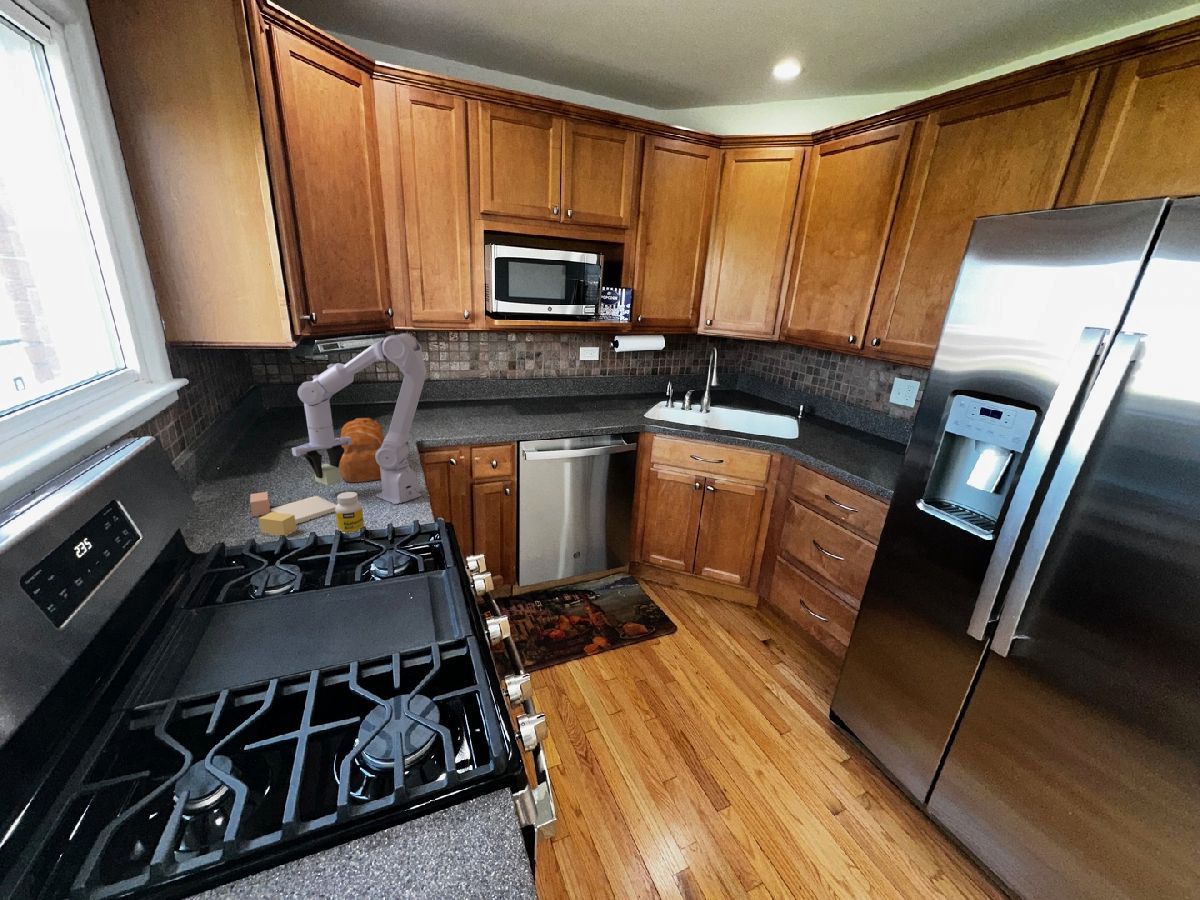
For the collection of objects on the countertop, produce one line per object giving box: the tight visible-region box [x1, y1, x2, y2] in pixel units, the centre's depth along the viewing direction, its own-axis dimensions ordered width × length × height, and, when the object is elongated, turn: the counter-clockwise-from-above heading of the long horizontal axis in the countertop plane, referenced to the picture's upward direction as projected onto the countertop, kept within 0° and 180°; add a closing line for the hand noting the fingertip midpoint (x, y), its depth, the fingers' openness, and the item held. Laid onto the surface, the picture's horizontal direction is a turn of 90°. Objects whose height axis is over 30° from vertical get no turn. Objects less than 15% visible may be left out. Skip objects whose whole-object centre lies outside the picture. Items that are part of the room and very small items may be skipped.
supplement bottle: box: [334, 491, 365, 533], centre depth 107 cm, size 5×5×10 cm
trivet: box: [270, 495, 337, 525], centre depth 119 cm, size 11×11×1 cm
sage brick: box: [313, 463, 341, 487], centre depth 127 cm, size 6×4×4 cm, turn 57°
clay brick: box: [249, 491, 271, 517], centre depth 118 cm, size 6×4×4 cm, turn 35°
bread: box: [339, 417, 385, 483], centre depth 149 cm, size 14×26×16 cm, turn 26°
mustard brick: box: [258, 511, 298, 536], centre depth 108 cm, size 6×4×4 cm, turn 80°
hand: (327, 475), depth 127 cm, fingers closed on sage brick, 3 cm apart
